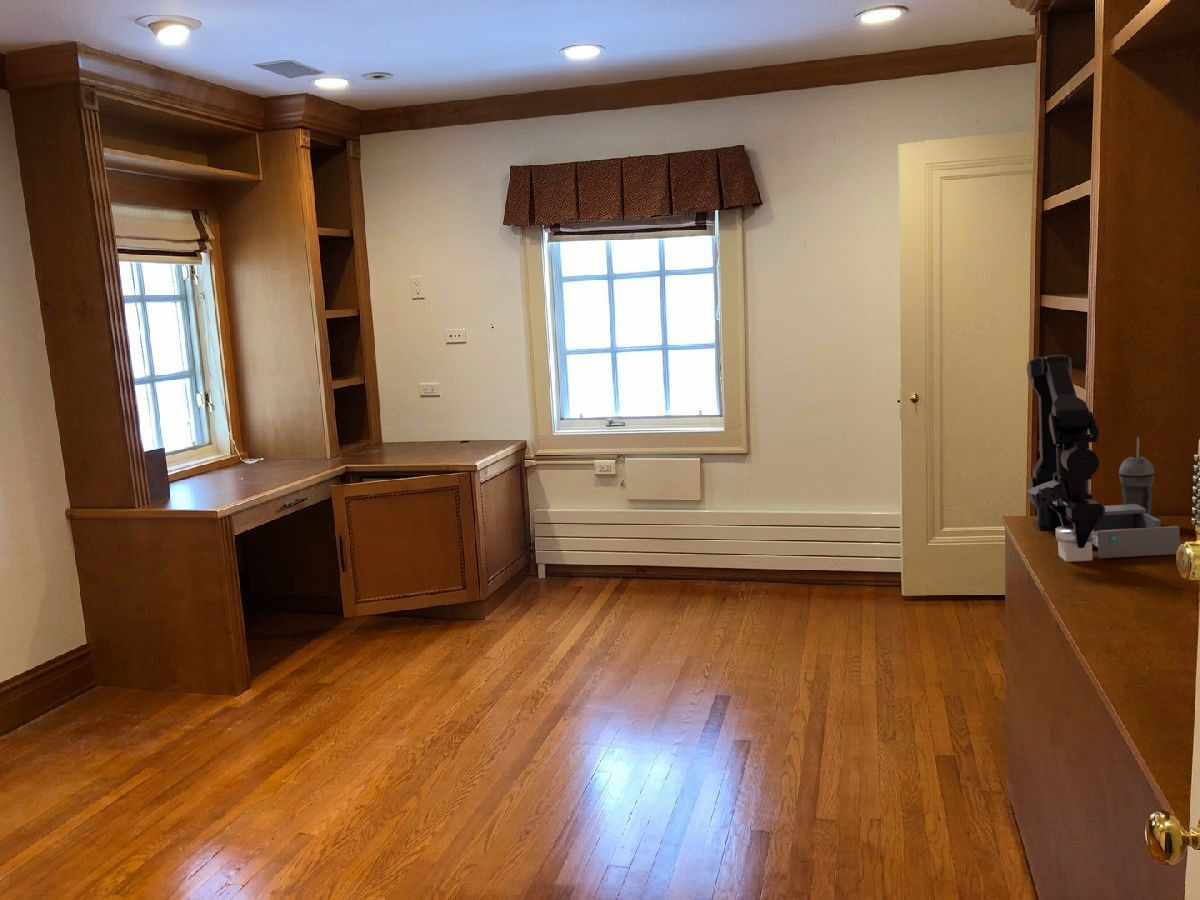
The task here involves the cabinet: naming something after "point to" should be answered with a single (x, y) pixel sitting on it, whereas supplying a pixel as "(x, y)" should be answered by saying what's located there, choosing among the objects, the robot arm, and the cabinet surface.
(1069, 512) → the robot arm
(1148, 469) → the beverage cup
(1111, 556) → the tray
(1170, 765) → the cabinet surface
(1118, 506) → the housing
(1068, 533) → the disc
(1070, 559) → the block
